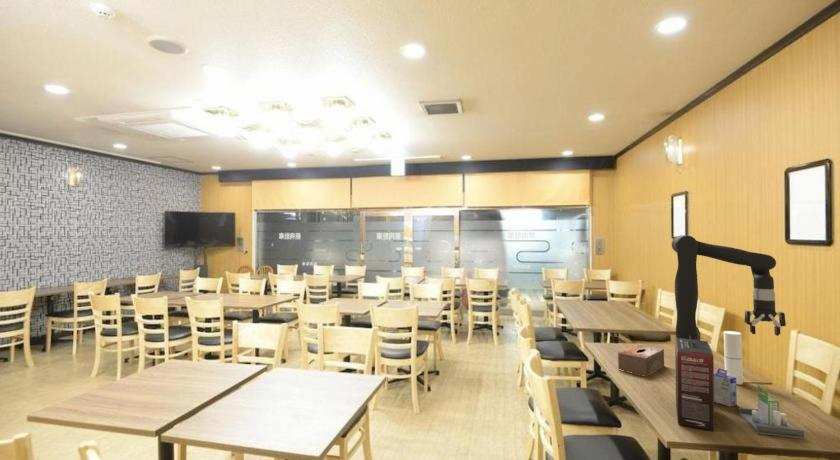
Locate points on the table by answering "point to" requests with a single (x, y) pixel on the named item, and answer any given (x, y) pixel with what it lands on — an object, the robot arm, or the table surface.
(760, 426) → the tray
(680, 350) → the headset box
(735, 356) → the cylindrical container
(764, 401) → the ink box
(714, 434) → the table surface
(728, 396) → the ink cartridge box
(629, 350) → the tissue box cover
